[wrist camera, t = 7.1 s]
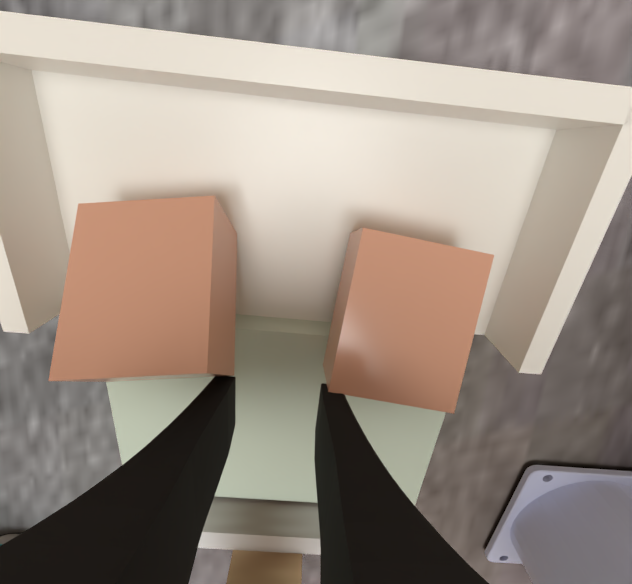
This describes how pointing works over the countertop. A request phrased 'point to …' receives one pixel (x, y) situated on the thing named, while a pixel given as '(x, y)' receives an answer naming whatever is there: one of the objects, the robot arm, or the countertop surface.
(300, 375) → the board
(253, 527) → the scraper
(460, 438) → the countertop surface
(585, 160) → the tray
